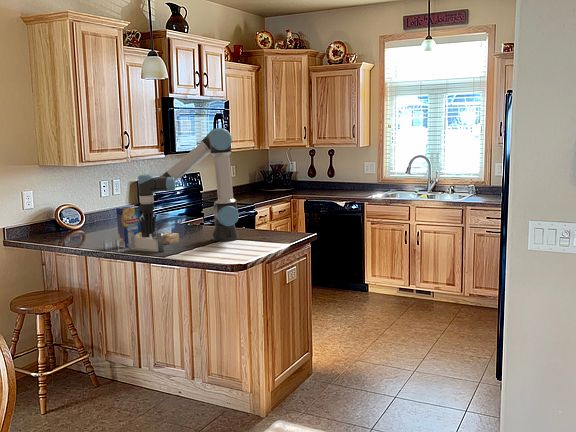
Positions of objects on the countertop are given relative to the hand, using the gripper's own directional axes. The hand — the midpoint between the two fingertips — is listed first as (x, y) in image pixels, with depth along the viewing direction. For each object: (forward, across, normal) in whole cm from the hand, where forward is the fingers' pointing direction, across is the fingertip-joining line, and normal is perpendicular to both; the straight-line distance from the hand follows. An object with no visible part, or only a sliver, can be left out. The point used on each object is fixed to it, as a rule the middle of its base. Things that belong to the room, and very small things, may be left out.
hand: (149, 245), depth 320 cm
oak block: (+2, -19, -2) cm, 19 cm away
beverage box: (+2, -4, -17) cm, 18 cm away
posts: (+2, +4, +3) cm, 5 cm away
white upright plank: (+1, +3, +1) cm, 4 cm away
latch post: (+2, +5, -8) cm, 10 cm away
